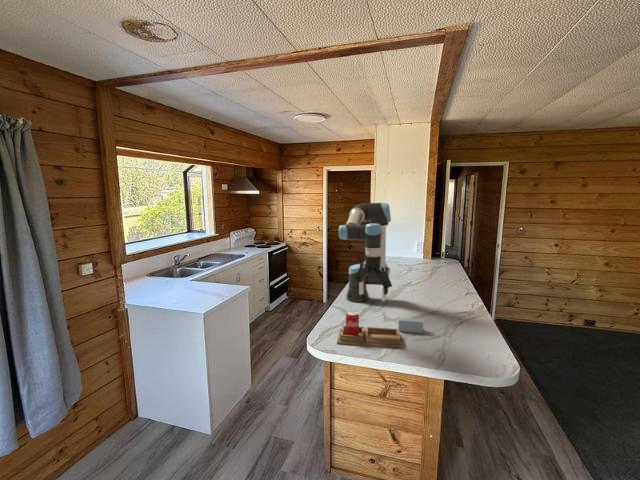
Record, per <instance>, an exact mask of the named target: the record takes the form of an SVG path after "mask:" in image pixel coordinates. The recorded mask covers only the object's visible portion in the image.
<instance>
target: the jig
mask: <svg viewBox="0 0 640 480" xmlns="http://www.w3.org/2000/svg"><path fill="white" fill-rule="evenodd" d="M336 344H337V345H348V346H360V347H361V346H363V347H373V348H374V347H375V348H387V349H389V348H391V349H402V345H401V336H400V331H399V330H398V328H389V327H387V328H386V327H371V326H366V327H365V326H359V335H358V336H356V335H346V325H343V324H342V325H341V328H339V332H338V336H337V340H336Z"/></svg>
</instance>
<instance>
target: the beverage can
mask: <svg viewBox="0 0 640 480" xmlns="http://www.w3.org/2000/svg"><path fill="white" fill-rule="evenodd" d="M359 316H360V315H359V314H358V312H357V311H354V310H353V311H352V310H350V311H348V312H347V313H346V315H345V326H346V335H356V336H358V335H359V327H360V325H359V323H360V322H359V321H360V319H359Z"/></svg>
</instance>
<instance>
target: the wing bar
mask: <svg viewBox="0 0 640 480" xmlns="http://www.w3.org/2000/svg"><path fill="white" fill-rule="evenodd" d="M397 323H398V324H397V325H398V326H397V330H399V332H404V333H418V334H419V333H420V334H422V333H424V332H423V331H424V329H423V328H424V321H423V318H414V317H413V318H411V317H398V320H397Z"/></svg>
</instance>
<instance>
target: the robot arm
mask: <svg viewBox="0 0 640 480" xmlns="http://www.w3.org/2000/svg"><path fill="white" fill-rule="evenodd" d="M391 221H392V217H391V209H390V204H389V203H388V202H387V203H386V202H362V203H359V204H357V205H354V207H352V208H351V210H350V211H349V214H348V219H347V220H346V223H345V224H341V225H339V227H338V237H339V240H345V241H346V240H347V241H349V240H351V241H352V240H353V241H356V240H357V241H365V246H364V247H365V249H364V251H365V252H364V255H365V257H364V259H365V260H364V262H360V263H358V264H356V263H355V264H353V265H350V266H349V267H348V289H347V292H346V295H345V299H346V300H347V301H349V302H353V303H364V302H367V301H369V298H370V295H369V292H368V288H367V285H373V286H382V288H381V302H385V301H387V295H388V293H389V288H392V286H393V284H392V282H391V280H390V273H391V272H390V271H391V268H390V267H388V263H386V253H387V252H386V250H387V249H386V248H387V247H386V245H387V244H386V238H387V237H386V236H387V227H388V226H389V223H390V222H391ZM362 222H369V223H367V224H366V225H365V224H364V225H361V223H362Z"/></svg>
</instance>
